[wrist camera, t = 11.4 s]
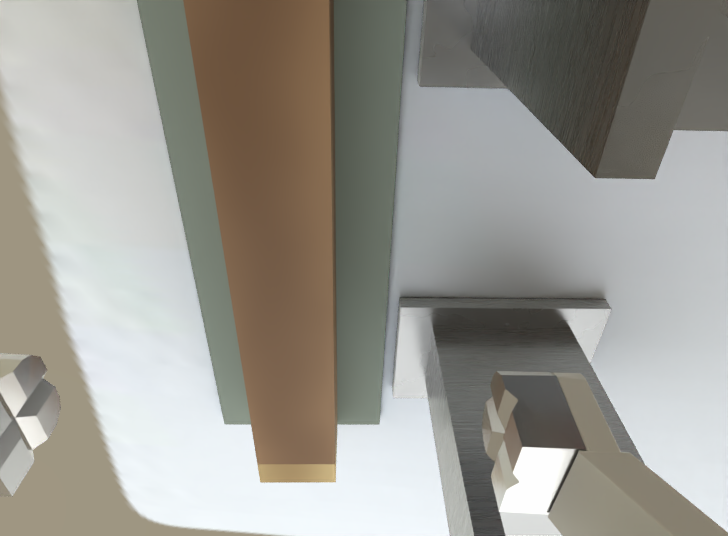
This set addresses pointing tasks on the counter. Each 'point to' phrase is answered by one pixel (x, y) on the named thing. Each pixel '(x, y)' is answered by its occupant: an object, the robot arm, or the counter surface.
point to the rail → (276, 214)
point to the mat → (352, 192)
